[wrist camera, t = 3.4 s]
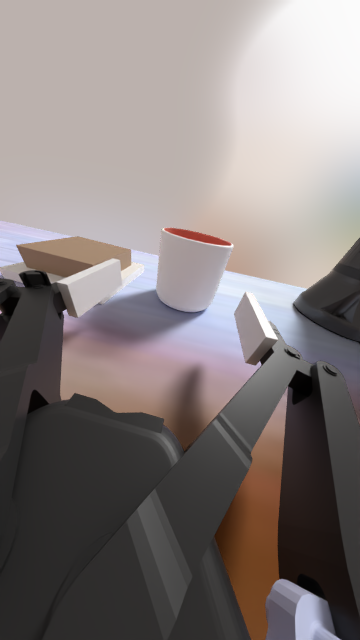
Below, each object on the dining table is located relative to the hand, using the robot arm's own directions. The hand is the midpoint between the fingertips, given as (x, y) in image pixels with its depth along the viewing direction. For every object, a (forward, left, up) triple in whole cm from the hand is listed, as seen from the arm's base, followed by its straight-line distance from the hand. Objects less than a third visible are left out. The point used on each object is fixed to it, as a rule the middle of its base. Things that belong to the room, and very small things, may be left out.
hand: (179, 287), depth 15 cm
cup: (0, -9, -6) cm, 11 cm away
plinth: (+18, -9, -6) cm, 21 cm away
